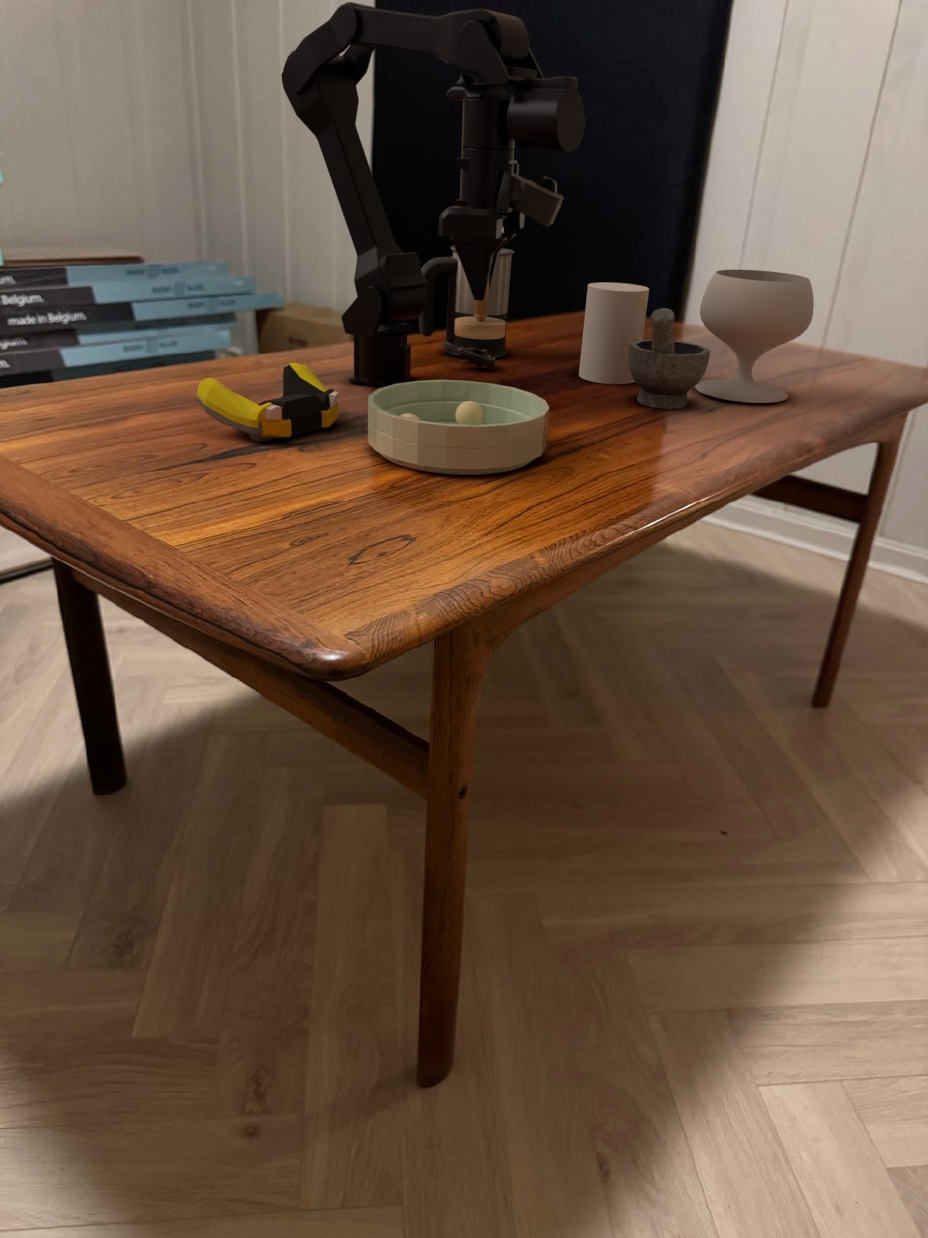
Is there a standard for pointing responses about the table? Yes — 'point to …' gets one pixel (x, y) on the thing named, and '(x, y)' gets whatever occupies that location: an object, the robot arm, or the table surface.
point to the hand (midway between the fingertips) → (480, 299)
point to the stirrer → (480, 323)
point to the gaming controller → (273, 406)
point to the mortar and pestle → (666, 364)
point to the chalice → (753, 325)
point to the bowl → (457, 426)
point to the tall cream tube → (611, 331)
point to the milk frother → (467, 306)
